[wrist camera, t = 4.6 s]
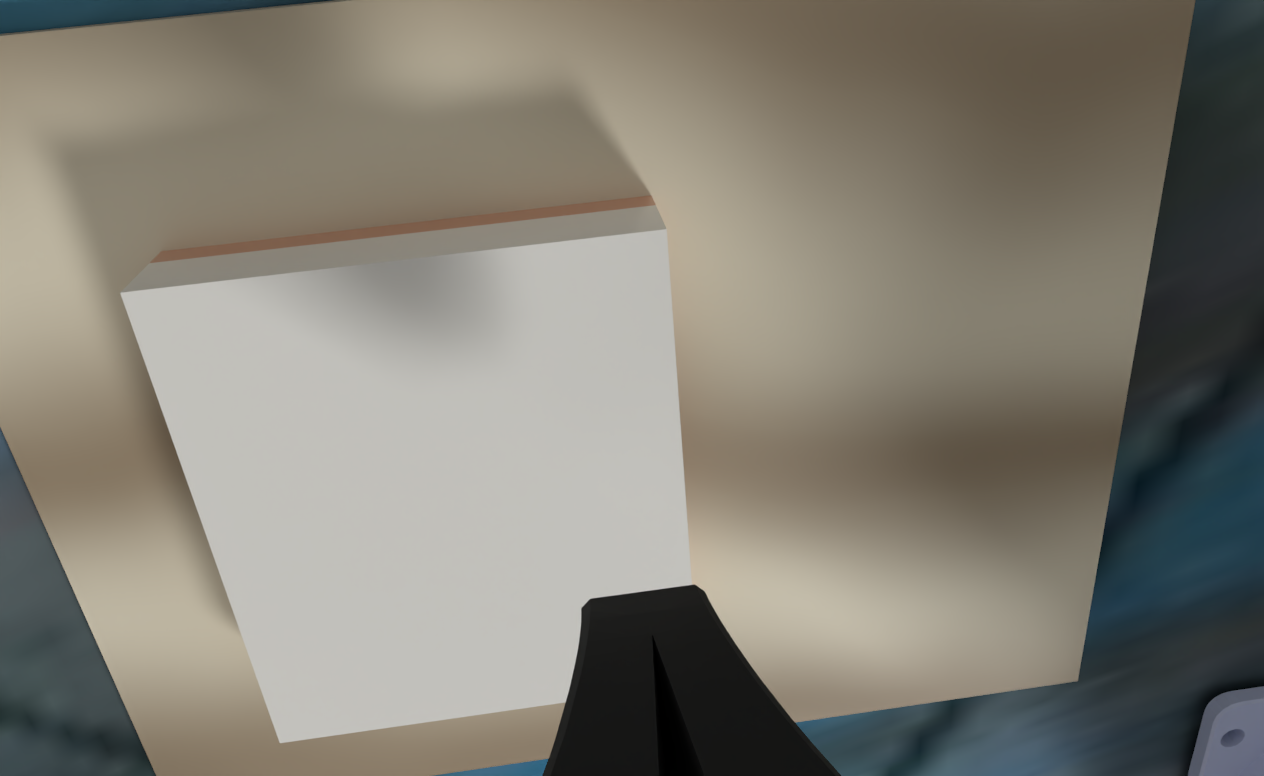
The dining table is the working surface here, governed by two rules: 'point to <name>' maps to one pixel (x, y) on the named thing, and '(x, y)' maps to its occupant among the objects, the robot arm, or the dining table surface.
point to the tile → (424, 449)
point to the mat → (701, 303)
